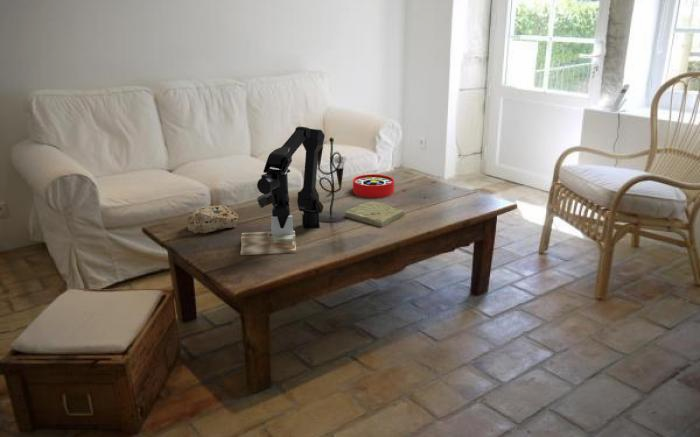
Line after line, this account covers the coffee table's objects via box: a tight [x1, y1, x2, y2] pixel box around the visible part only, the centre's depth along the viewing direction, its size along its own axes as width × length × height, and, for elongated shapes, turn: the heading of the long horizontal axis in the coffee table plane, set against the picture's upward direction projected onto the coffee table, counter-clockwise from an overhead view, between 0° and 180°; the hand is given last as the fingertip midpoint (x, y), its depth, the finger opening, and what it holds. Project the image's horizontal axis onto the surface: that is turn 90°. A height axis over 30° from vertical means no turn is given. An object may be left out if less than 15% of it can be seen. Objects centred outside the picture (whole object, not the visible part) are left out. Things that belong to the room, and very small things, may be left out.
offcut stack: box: [270, 235, 296, 249], centre depth 212 cm, size 9×4×4 cm, turn 96°
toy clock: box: [352, 173, 395, 199], centre depth 278 cm, size 20×6×20 cm
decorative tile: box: [344, 200, 405, 228], centre depth 246 cm, size 19×20×4 cm
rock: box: [186, 204, 239, 234], centre depth 233 cm, size 21×14×10 cm
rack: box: [240, 230, 297, 256], centre depth 215 cm, size 20×14×4 cm
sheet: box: [270, 214, 294, 236], centre depth 216 cm, size 8×2×10 cm, turn 96°
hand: (282, 226), depth 216 cm, fingers open, 4 cm apart
